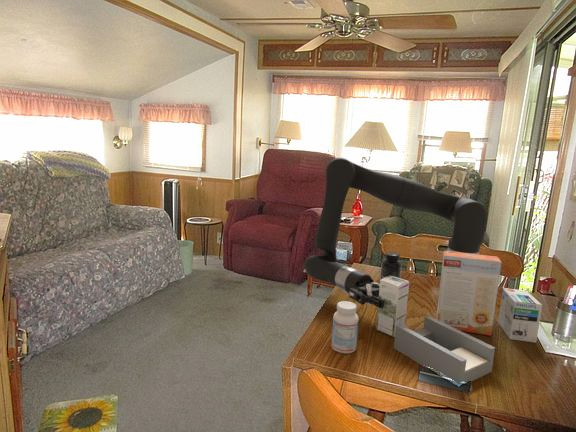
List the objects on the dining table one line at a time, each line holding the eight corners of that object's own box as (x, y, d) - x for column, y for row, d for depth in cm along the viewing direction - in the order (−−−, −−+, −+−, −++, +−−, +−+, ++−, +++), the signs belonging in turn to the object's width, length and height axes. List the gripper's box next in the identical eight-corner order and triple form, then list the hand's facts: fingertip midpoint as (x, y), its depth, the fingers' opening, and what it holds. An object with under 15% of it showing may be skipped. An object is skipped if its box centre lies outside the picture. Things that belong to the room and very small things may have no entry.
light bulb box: (536, 343, 104) (543, 304, 102) (509, 340, 105) (515, 301, 103) (522, 325, 114) (528, 289, 112) (496, 322, 116) (502, 287, 114)
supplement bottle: (376, 283, 143) (379, 250, 141) (393, 282, 145) (396, 250, 142) (385, 290, 136) (388, 256, 134) (403, 289, 138) (406, 256, 136)
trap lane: (425, 337, 105) (428, 315, 104) (491, 371, 90) (495, 347, 89) (393, 348, 98) (396, 325, 97) (458, 387, 84) (462, 361, 82)
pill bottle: (338, 339, 102) (341, 297, 100) (360, 347, 98) (364, 304, 96) (326, 348, 97) (329, 305, 95) (349, 357, 93) (352, 312, 91)
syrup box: (405, 331, 107) (410, 280, 105) (393, 338, 103) (398, 285, 101) (386, 323, 111) (391, 274, 109) (374, 330, 107) (379, 279, 105)
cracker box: (488, 327, 112) (499, 255, 108) (491, 337, 106) (503, 261, 102) (435, 318, 116) (443, 249, 112) (435, 327, 111) (444, 254, 107)
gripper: (335, 273, 114) (376, 292, 101) (372, 266, 122) (414, 284, 108) (333, 298, 116) (373, 320, 102) (370, 290, 123) (411, 310, 110)
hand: (394, 301), depth 105 cm, fingers open, 8 cm apart
